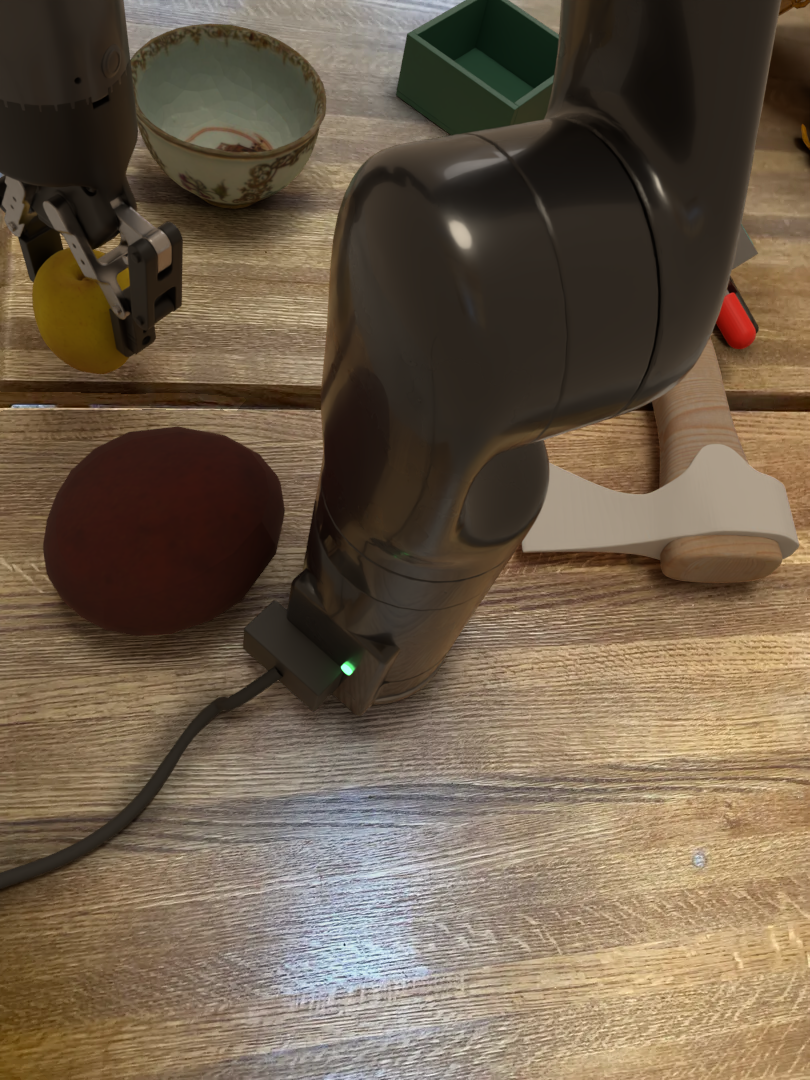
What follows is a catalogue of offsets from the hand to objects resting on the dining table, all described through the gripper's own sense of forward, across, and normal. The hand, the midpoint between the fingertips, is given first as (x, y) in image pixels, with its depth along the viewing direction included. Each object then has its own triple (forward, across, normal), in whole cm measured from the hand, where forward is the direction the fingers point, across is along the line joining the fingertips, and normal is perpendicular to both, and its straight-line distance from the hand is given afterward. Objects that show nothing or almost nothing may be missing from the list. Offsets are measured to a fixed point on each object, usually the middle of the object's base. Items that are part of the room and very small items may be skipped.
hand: (92, 311), depth 51 cm
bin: (+6, 0, +43) cm, 43 cm away
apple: (+4, 0, 0) cm, 4 cm away
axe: (+4, +17, +36) cm, 40 cm away
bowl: (+6, -7, +19) cm, 21 cm away
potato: (-4, +14, -8) cm, 16 cm away
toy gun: (+3, +26, +34) cm, 43 cm away
